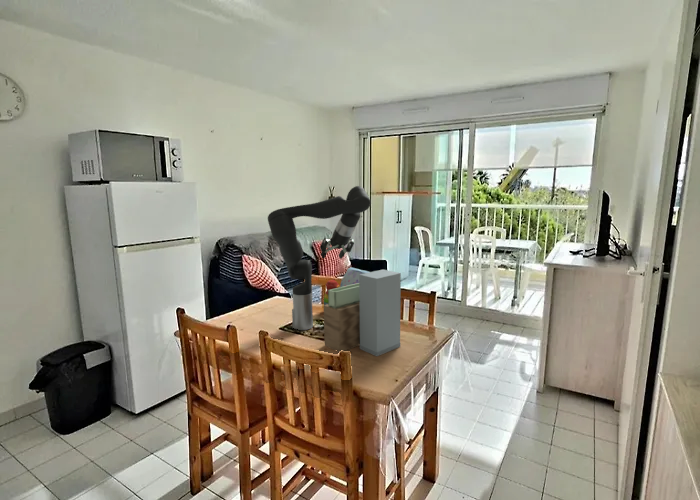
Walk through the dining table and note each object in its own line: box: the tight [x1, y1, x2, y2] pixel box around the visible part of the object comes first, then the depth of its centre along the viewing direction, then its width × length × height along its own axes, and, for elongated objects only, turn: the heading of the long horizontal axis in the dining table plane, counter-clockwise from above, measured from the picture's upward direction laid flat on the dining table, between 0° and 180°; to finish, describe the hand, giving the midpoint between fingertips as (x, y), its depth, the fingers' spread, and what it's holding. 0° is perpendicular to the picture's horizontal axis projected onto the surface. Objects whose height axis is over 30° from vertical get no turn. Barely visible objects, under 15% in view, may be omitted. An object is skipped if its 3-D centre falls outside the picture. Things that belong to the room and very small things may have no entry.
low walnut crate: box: [323, 302, 360, 353], centre depth 168 cm, size 23×10×18 cm, turn 131°
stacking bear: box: [323, 279, 340, 306], centre depth 208 cm, size 11×10×18 cm
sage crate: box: [328, 283, 360, 309], centre depth 166 cm, size 22×4×7 cm, turn 131°
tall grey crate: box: [359, 269, 402, 357], centre depth 160 cm, size 14×10×32 cm
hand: (331, 257), depth 169 cm, fingers open, 8 cm apart
